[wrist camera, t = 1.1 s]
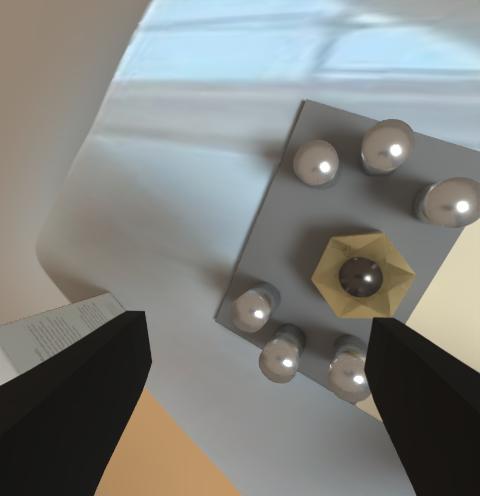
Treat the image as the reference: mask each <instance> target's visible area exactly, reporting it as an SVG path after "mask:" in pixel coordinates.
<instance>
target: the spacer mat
mask: <svg viewBox="0 0 480 496" xmlns="http://www.w3.org/2000/svg"><path fill="white" fill-rule="evenodd" d="M378 122H380V121H377V120H374V119H370V118H367V117H364V116H361V115H357V114H354V113H351V112H347V111H344V110H341V109H338V108H334V107H331V106H328V105H324V104H321V103H318V102H314V101H311V100H308V99H306V102H305V104H304V107H303V109H302V111H301V114H300V116H299V119H298V121H297V124H296V126H295V128H294V131H293V133H292V136H291V138H290V141H289V143H288V145H287V148H286V150H285V153H284V155H283V158H282V160H281V162H280V165H279V167H278V170H277V172H276V175H275V177H274V179H273V182H272V184H271V187H270V189H269V192H268V194H267V196H266V199H265V201H264V204H263V206H262V209H261V211H260V213H259V216H258V218H257V221H256V223H255V226H254V228H253V230H252V233H251V235H250V238H249V240H248V243H247V245H246V247H245V250H244V252H243V255H242V257H241V260H240V262H239V264H238V267H237V269H236V272H235V274H234V277H233V279H232V281H231V284H230V286H229V289H228V291H227V294H226V296H225V298H224V301H223V303H222V306H221V308H220V311H219V313H218V315H217V318H216V320H215V321H216V322H217V323H219V324H221V325H222V326H224V327H226V328H227V329H229V330H231V331H232V332H234V333H236V334H237V335H239V336H241V337H242V338H244V339H246V340H247V341H249V342H251V343H252V344H254V345H255V346H257V347H259V348H260V349H262V350H264V348H265V347H266V345H267V344H268V342H269V341H270V339H271V338H272V336H273V335H274V333H275V332H276V330H277V329H278V328H279V327H280V326H281V325H283V324H294V325H296V326H298V327H299V328H300V329H301V330H302V331H303V332H304V334H305V336H306V346H305V349H304V352H303V354H302V357H301V360H300V363H299V365H298V368H297V371H298V372H300V373H302V374H303V375H305V376H307V377H308V378H310V379H312V380H313V381H315V382H317V383H318V384H320V385H322V386H323V387H325V388H327V389H328V390H330V391H332V390H331V388H330V386H329V383H328V374H329V368H330V362H331V355H332V349H333V344H334V342H335V341H336V339H338V338H339V337H341V336H343V335H354V336H357V337H359V338H361V339H362V340H363V341H364V342H365V343H366V344H367V346H368V343H369V338H370V332H371V327H372V321H373V318H338V317H337V315H336V314H335V312H334V311H333V310H332V308H331V307H330V305H329V304H328V303H327V301H326V300H325V298H324V297H323V295H322V294H321V293H320V291H319V290H318V288H317V287H316V286H315V284H314V283H313V281H312V280H311V278H312V276H313V274H314V272H315V270H316V268H317V266H318V264H319V262H320V260H321V258H322V256H323V254H324V251H325V249H326V247H327V245H328V243H329V241H330V239H331V237H332V236H333V235H337V234H349V233H360V232H371V231H382V232H383V233H385V235H386V236H387V237H388V239H389V240H390V241H391V243H392V244H393V245H394V246H395V248H396V249H397V250H398V252H399V253H400V254H401V256H402V257H403V258H404V260H405V261H406V262H407V264H408V265H409V266H410V267H411V269H412V270H413V271H414V273H415V274H416V275H417V276H416V277H415V279H414V281H413V282H412V284H411V286H410V287H409V289H408V291H407V292H406V294H405V296H404V297H403V299H402V301H401V302H400V304H399V306H398V307H397V309H396V311H395V312H394V314H393V316H392V317H391V318H395V319H397V320H399V321H400V322H402V323H404V324H405V325H407V326H409V327H410V328H412V329H413V330H415V331H416V332H418V333H419V334H421V335H422V336H424V337H425V338H427V339H428V340H430V341H431V342H433V343H434V344H436V345H437V346H439V347H440V348H442V349H443V350H445V351H446V352H448V353H449V354H451V355H453V356H454V357H456V358H457V359H459V360H460V361H462V362H463V363H465V364H466V365H468V366H470V367H471V368H473V369H474V370H476V371H478V372H479V373H480V218H479V219H478V220H477V221H475V222H474V223H472V224H470V225H468V226H465V227H460V228H449V227H443V226H436V225H430V224H425V223H423V222H421V221H419V220H418V219H417V218H416V217H415V215H414V214H413V211H412V202H413V199H414V197H415V195H416V194H417V193H418V192H419V191H420V190H421V189H423V188H425V187H427V186H430V185H433V184H435V183H438V182H441V181H444V180H446V179H449V178H454V177H466V178H470V179H473V180H475V181H477V182H478V183H480V152H479V151H476V150H472V149H469V148H466V147H463V146H459V145H456V144H453V143H449V142H446V141H443V140H440V139H436V138H433V137H430V136H426V135H423V134H420V133H417V132H414V135H415V146H414V149H413V151H412V153H411V155H410V156H409V158H408V159H407V160H406V161H405V162H404V163H403V164H402V165H401V166H400V167H399V168H398V169H397V170H396V171H395V172H394V173H392V174H391V175H389V176H386V177H381V178H376V177H372V176H369V175H368V174H366V173H365V172H364V170H363V169H362V167H361V163H360V157H361V148H362V142H363V139H364V136H365V134H366V133H367V131H368V130H369V129H370V128H371V127H372V126H374V125H375V124H377V123H378ZM312 140H323V141H326V142H328V143H330V144H331V145H332V146H333V147H334V148H335V150H336V152H337V155H338V159H339V162H340V166H341V175H340V178H339V180H338V181H337V183H336V184H335V185H334V186H332V187H331V188H328V189H325V190H317V189H314V188H312V187H311V186H309V185H307V184H306V183H304V182H303V181H301V180H300V179H299V178H298V177H297V175H296V174H295V171H294V167H293V161H294V157H295V154H296V152H297V151H298V149H299V148H300V147H301V146H302V145H304V144H305V143H307V142H309V141H312ZM261 282H268V283H271V284H273V285H274V286H275V287H276V288H277V289H278V291H279V293H280V296H281V302H280V305H279V307H278V308H277V309H276V311H275V312H274V313H273V314H272V316H271V317H270V318H269V319H268V320H267V322H266V323H265V324H264V325H263V327H262V328H261V329H260V330H258V331H256V332H252V333H249V332H244V331H242V330H240V329H239V328H238V327H237V326H236V325H235V324H234V323H233V321H232V318H231V313H230V311H231V306H232V304H233V302H234V301H235V300H236V299H237V298H239V297H240V296H241V295H243V294H244V293H246V292H247V291H248V290H250V289H251V288H252V287H254V286H255V285H256V284H258V283H261ZM332 392H333V391H332ZM333 393H334V392H333ZM350 403H351V404H353V405H355V406H356V407H358V408H360V409H361V410H363V411H365V412H366V413H368V414H370V415H371V416H373V417H375V418H376V419H378V420H380V421H381V422H383V421H382V419H381V417H380V414H379V412H378V410H377V408H376V405H375V403H374V400H373V397H372V394H370V396H369V397H368V398H367V399H365V400H363V401H360V402H350Z"/></svg>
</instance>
